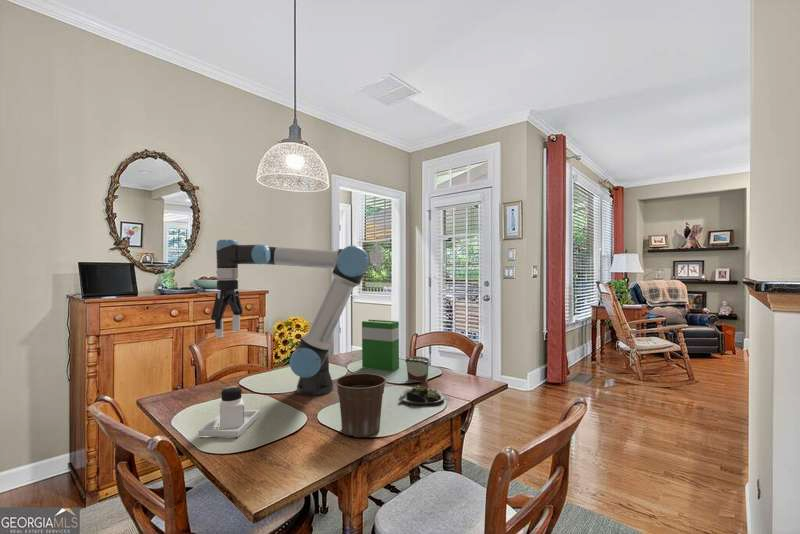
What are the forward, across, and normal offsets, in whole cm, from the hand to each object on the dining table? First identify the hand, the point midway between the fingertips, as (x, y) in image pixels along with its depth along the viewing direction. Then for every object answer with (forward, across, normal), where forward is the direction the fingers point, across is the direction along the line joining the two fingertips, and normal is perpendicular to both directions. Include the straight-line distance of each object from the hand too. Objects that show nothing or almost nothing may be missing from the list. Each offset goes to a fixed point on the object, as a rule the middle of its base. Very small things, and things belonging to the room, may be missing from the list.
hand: (228, 334), depth 146 cm
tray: (+27, +21, +11) cm, 36 cm away
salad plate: (+27, -5, +75) cm, 80 cm away
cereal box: (+27, -50, +55) cm, 79 cm away
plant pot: (+27, +23, +55) cm, 65 cm away
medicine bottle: (+26, +21, +11) cm, 36 cm away
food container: (+27, -30, +75) cm, 85 cm away
